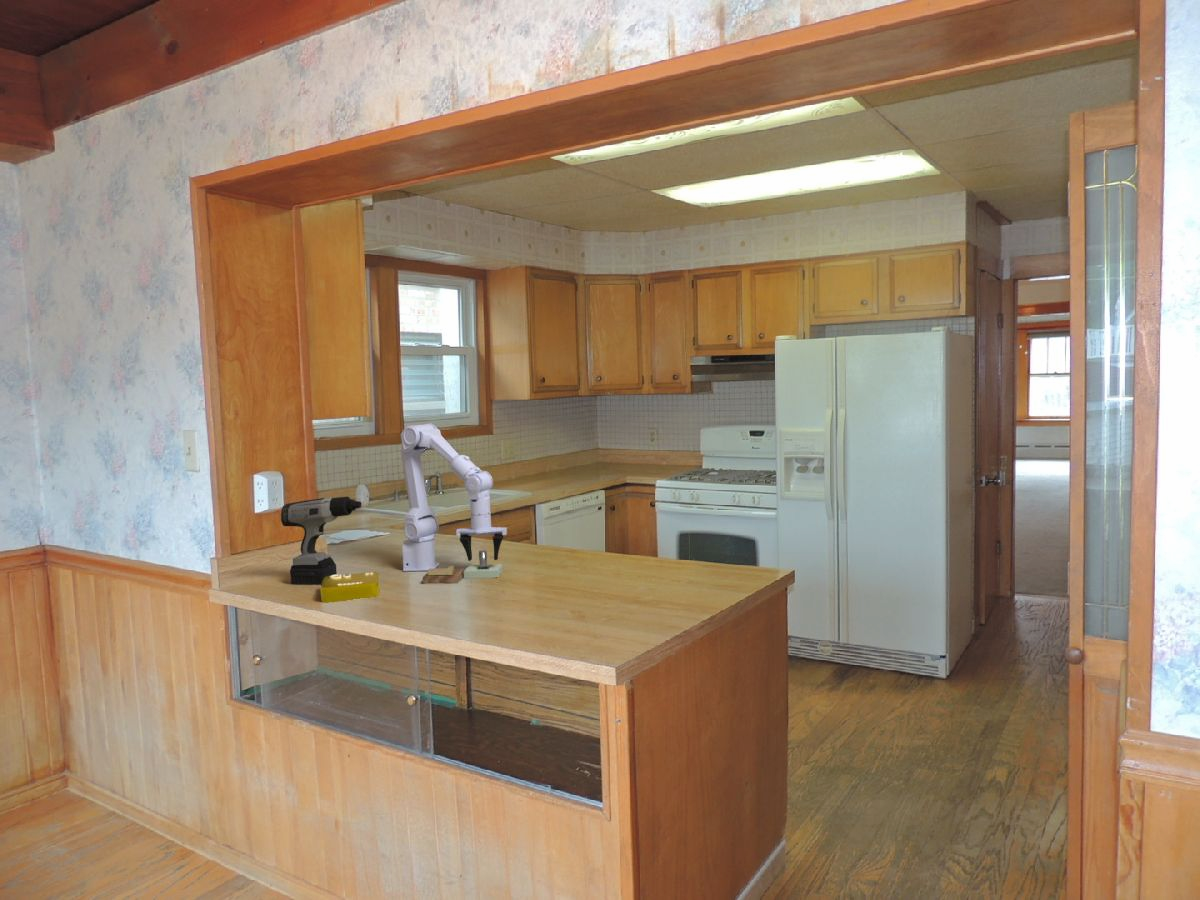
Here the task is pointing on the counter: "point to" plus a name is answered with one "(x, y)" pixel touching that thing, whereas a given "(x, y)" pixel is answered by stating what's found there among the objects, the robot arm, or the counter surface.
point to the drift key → (441, 571)
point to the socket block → (444, 577)
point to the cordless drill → (314, 535)
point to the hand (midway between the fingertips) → (483, 559)
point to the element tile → (349, 587)
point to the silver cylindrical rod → (483, 559)
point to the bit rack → (483, 571)
